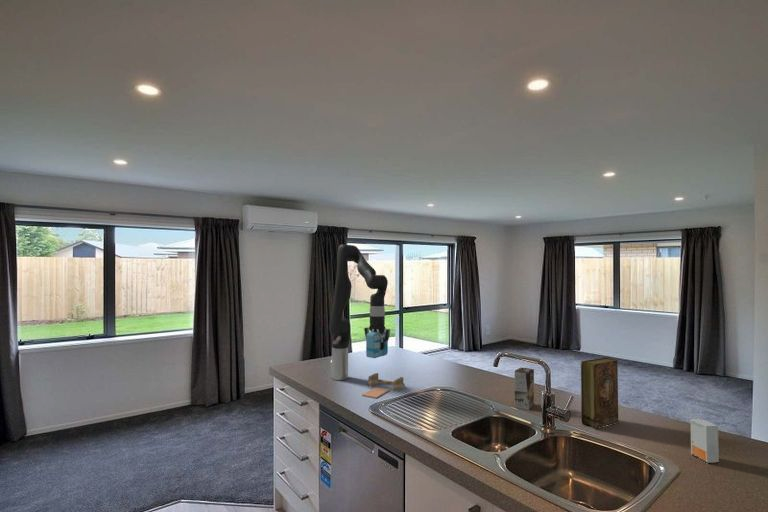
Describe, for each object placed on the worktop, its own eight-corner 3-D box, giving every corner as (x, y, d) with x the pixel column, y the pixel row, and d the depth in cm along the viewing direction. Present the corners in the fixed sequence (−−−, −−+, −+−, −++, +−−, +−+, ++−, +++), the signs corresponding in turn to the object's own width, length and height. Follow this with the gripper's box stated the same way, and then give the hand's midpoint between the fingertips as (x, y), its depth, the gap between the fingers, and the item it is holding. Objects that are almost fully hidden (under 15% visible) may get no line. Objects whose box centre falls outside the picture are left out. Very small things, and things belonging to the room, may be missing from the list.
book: (607, 417, 159) (606, 357, 160) (620, 422, 154) (619, 359, 155) (581, 424, 152) (580, 361, 152) (594, 430, 147) (593, 364, 148)
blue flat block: (373, 359, 184) (373, 333, 184) (365, 357, 187) (366, 332, 187) (387, 354, 194) (387, 330, 194) (380, 353, 196) (380, 330, 197)
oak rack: (368, 386, 200) (368, 376, 201) (377, 381, 209) (377, 372, 209) (396, 391, 192) (396, 381, 193) (404, 386, 201) (404, 376, 201)
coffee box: (529, 410, 167) (528, 373, 168) (514, 407, 171) (514, 371, 171) (534, 404, 174) (534, 368, 175) (520, 401, 178) (519, 366, 179)
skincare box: (690, 455, 127) (689, 418, 127) (702, 454, 127) (701, 418, 128) (707, 464, 121) (706, 426, 121) (719, 464, 121) (718, 425, 122)
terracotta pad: (361, 395, 185) (361, 394, 185) (375, 388, 197) (375, 387, 197) (376, 398, 181) (376, 397, 181) (389, 390, 193) (389, 389, 193)
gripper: (393, 314, 191) (393, 349, 191) (368, 313, 198) (367, 346, 197) (387, 316, 185) (386, 352, 184) (361, 315, 191) (360, 349, 190)
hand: (377, 349), depth 190 cm, fingers closed on blue flat block, 5 cm apart
